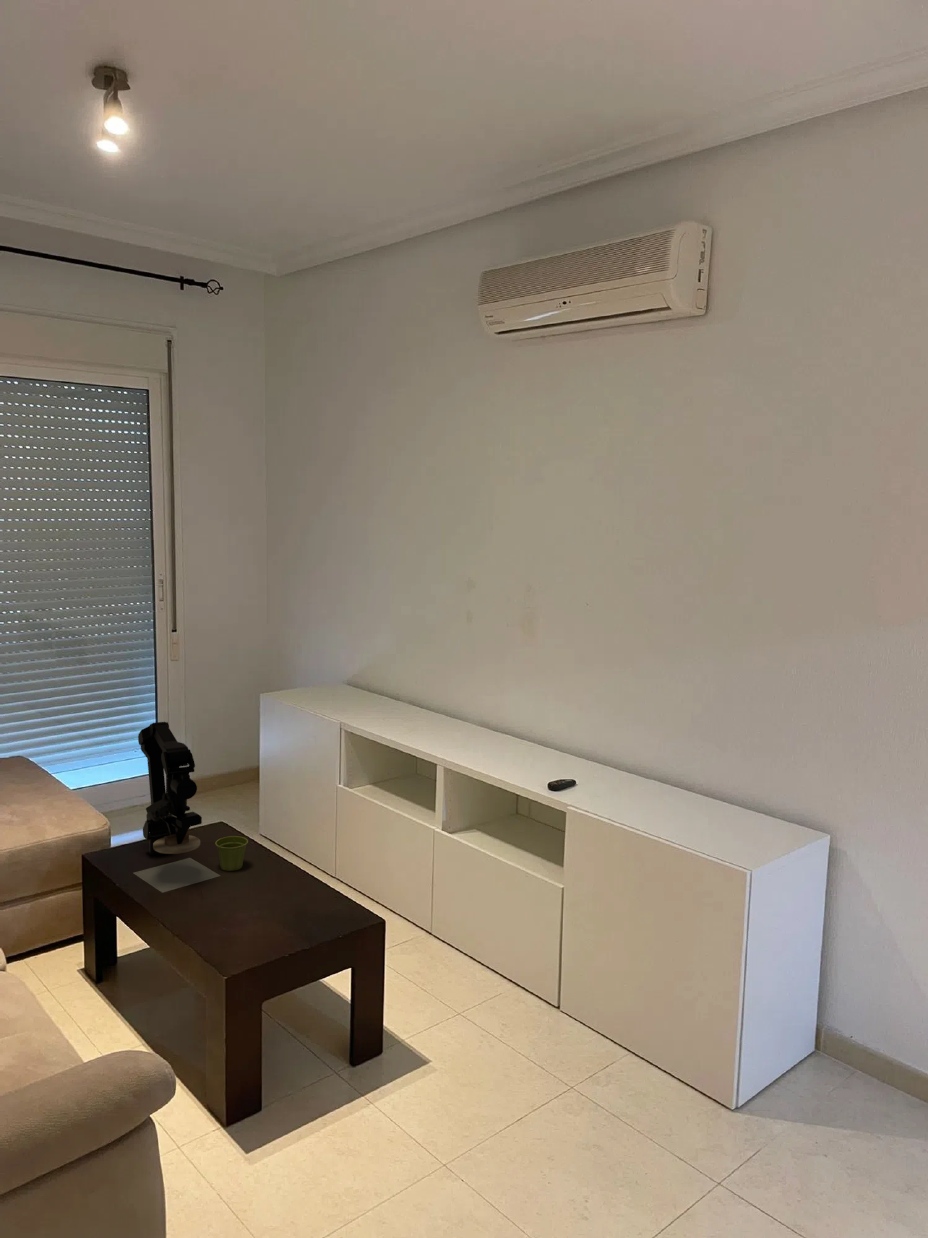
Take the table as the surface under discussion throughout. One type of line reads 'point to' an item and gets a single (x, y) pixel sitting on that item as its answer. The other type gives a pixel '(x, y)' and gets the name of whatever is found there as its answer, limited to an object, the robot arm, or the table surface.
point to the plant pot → (231, 852)
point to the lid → (176, 844)
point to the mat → (176, 874)
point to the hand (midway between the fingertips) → (176, 842)
